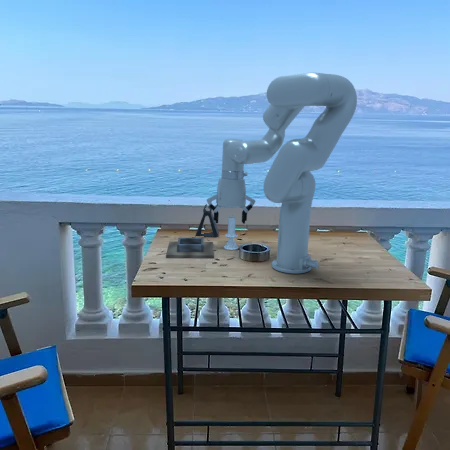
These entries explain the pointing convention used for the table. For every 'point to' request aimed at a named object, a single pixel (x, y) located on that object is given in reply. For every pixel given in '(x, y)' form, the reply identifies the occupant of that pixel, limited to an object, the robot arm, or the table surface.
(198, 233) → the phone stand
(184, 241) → the keeper board
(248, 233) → the table surface
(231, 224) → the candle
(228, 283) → the table surface
